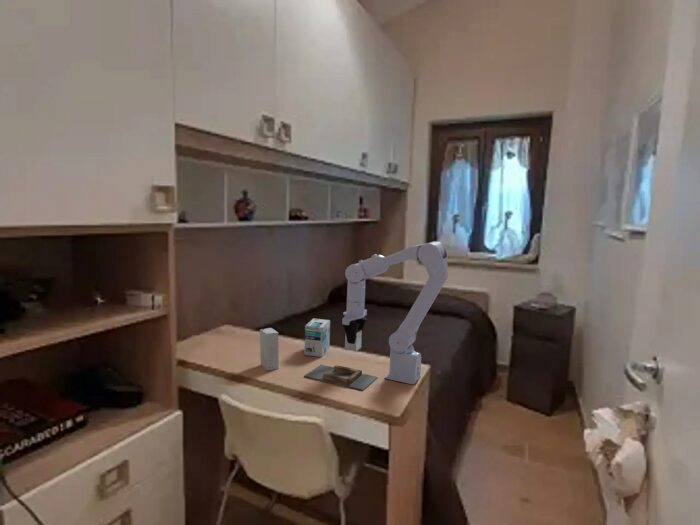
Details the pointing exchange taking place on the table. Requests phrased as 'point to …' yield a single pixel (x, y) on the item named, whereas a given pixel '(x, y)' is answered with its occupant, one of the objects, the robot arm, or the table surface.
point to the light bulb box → (317, 337)
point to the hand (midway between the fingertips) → (353, 341)
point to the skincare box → (269, 349)
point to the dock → (342, 376)
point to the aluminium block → (356, 344)
